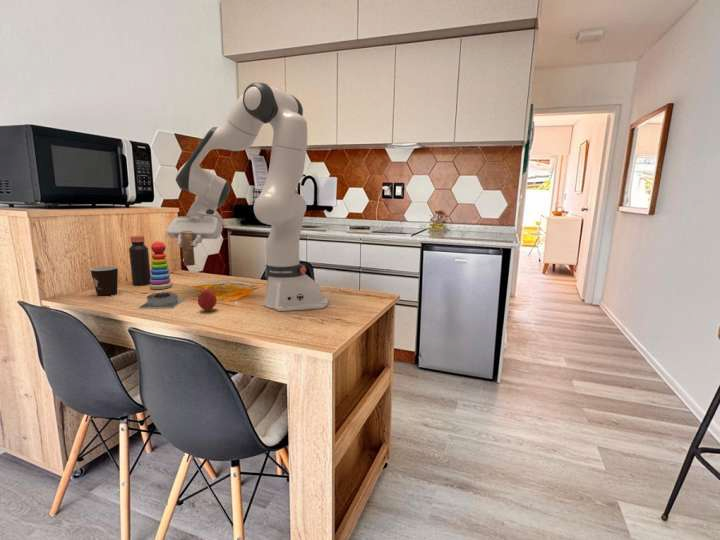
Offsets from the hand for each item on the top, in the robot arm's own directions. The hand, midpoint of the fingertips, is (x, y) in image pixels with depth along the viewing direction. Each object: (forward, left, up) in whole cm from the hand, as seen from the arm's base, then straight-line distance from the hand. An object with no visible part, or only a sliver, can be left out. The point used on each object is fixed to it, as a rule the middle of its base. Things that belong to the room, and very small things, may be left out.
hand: (186, 246), depth 141 cm
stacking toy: (+17, -16, -19) cm, 30 cm away
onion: (-11, +16, -19) cm, 28 cm away
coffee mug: (+33, -7, -19) cm, 39 cm away
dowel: (0, -1, -7) cm, 7 cm away
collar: (+7, +7, -19) cm, 22 cm away
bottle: (+27, -22, -19) cm, 40 cm away
